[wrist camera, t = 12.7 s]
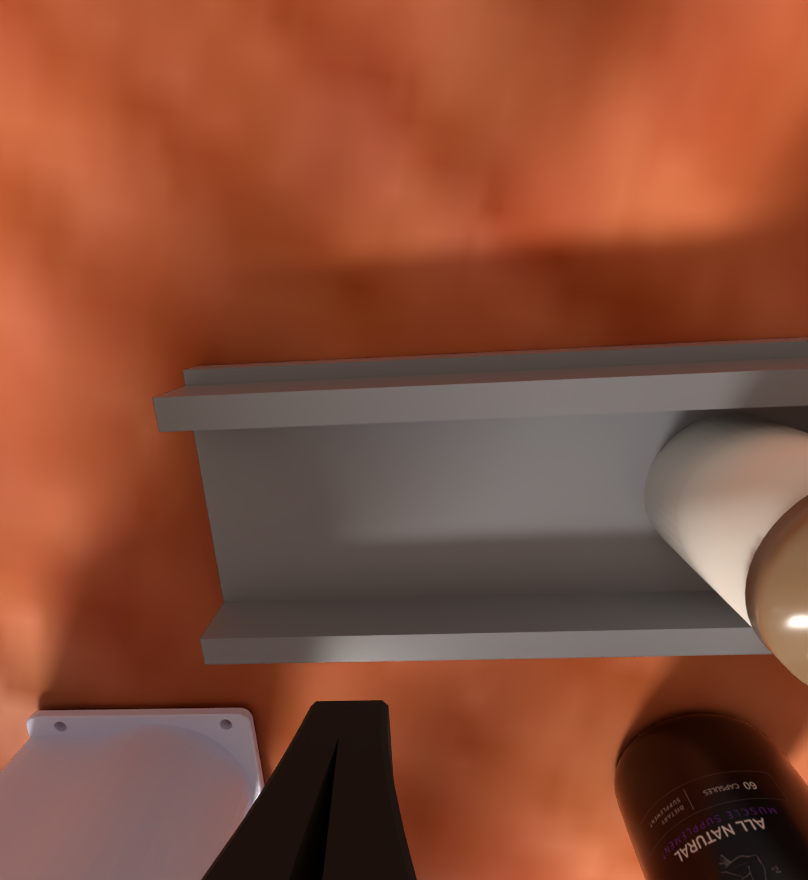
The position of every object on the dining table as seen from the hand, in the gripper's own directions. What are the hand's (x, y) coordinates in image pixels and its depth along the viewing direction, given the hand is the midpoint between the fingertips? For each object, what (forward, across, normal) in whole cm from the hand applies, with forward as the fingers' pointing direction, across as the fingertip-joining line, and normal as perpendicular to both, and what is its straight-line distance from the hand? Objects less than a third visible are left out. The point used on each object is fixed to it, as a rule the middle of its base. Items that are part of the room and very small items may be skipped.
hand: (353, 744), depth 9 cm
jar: (+8, -11, -2) cm, 14 cm away
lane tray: (+9, -6, -1) cm, 11 cm away
